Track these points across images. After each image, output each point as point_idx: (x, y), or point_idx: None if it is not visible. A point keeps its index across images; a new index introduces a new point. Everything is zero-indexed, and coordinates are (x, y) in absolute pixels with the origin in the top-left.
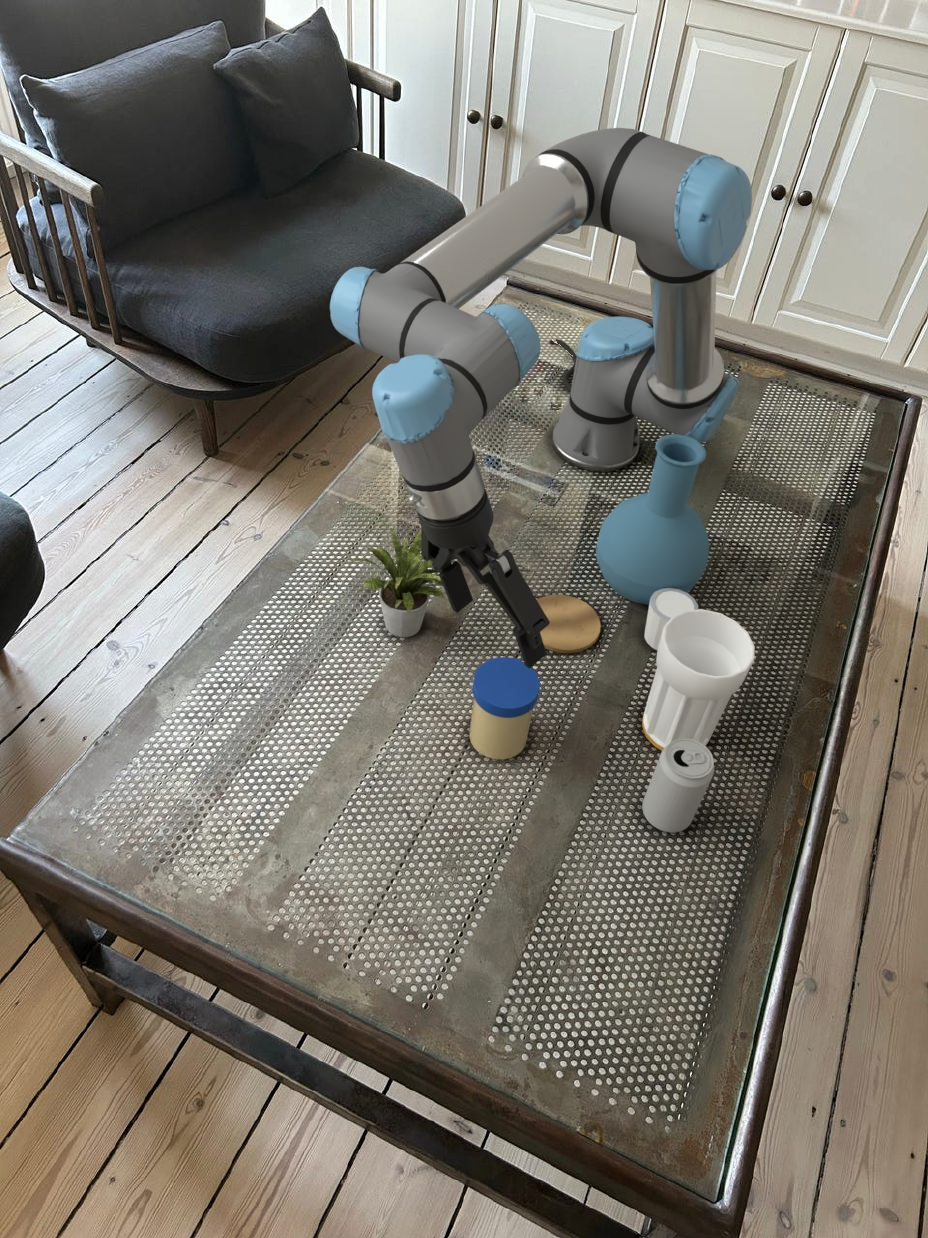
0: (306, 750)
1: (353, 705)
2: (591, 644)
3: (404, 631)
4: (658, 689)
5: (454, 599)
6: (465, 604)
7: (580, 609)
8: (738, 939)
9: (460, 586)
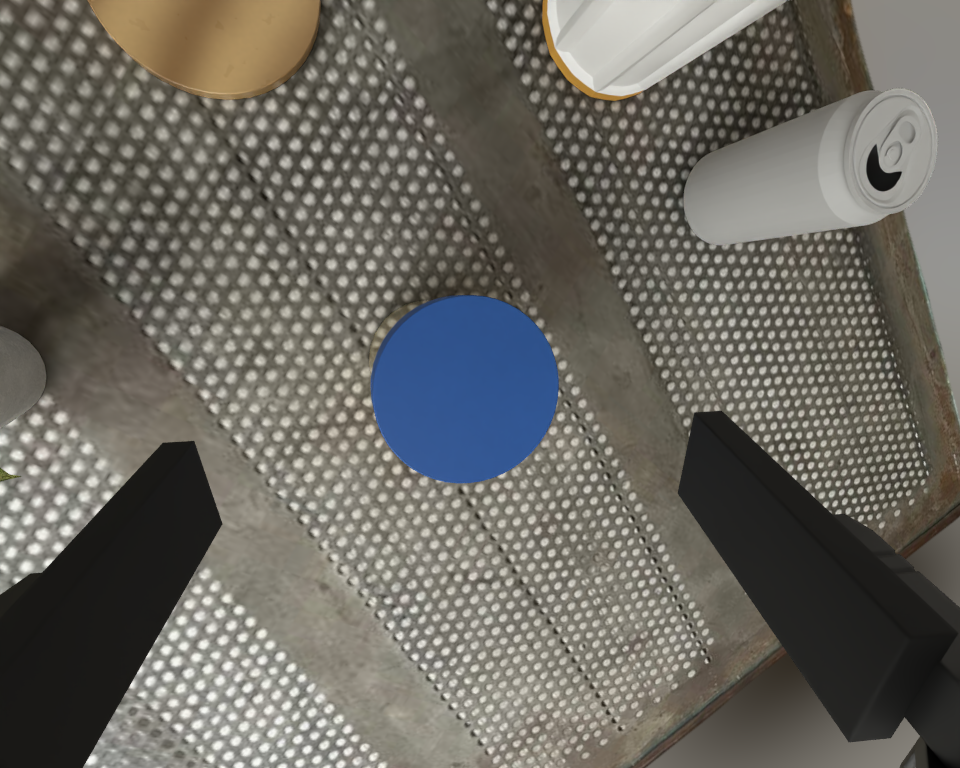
0: (270, 693)
1: (205, 582)
2: None
3: (29, 402)
4: (655, 4)
5: (179, 577)
6: (202, 485)
7: None
8: (879, 267)
9: (129, 573)
